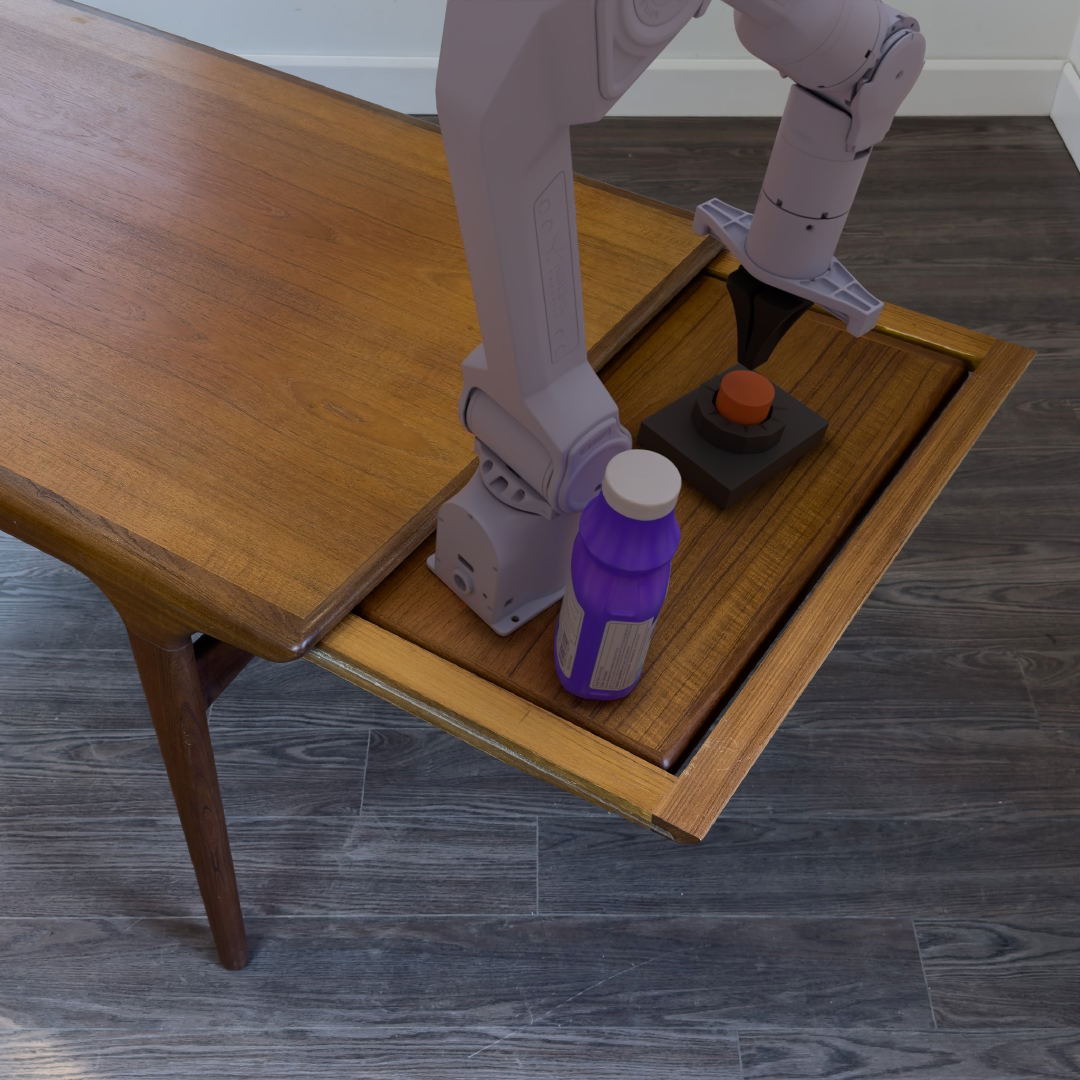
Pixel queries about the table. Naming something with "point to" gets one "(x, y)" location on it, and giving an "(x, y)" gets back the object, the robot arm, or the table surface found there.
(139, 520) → the table surface
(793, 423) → the button base
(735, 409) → the push button
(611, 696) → the bottle
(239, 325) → the table surface
